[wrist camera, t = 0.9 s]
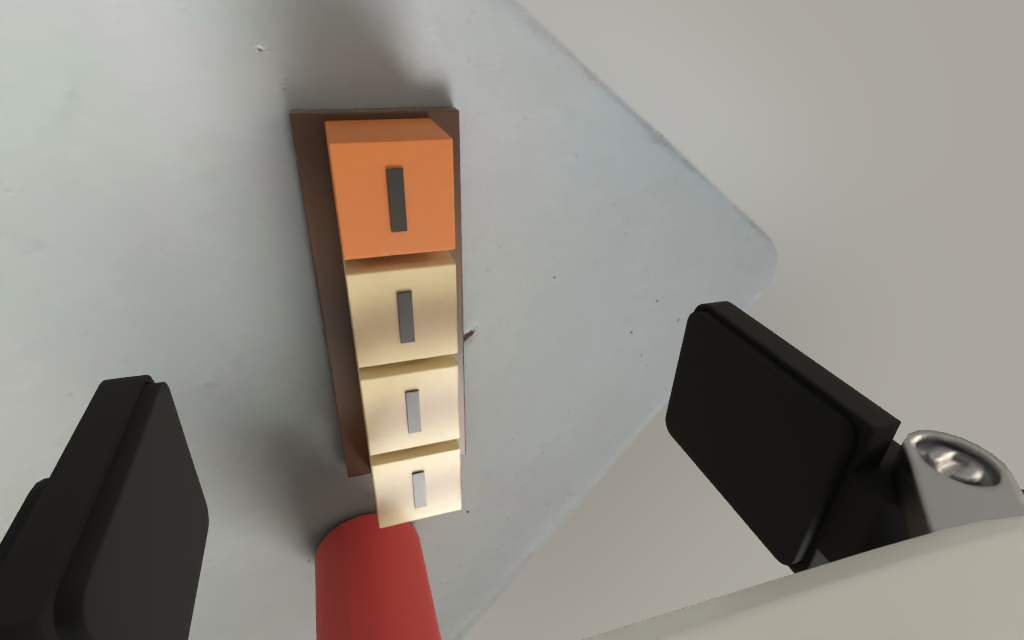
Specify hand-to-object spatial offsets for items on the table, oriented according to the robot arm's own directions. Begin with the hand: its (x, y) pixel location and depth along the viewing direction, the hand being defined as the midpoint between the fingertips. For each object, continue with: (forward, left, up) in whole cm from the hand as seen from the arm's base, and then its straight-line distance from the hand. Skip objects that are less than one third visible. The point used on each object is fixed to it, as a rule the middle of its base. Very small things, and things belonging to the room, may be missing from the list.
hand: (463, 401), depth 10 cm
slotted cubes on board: (+8, 0, -18) cm, 20 cm away
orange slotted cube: (0, 0, -17) cm, 17 cm away
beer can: (+25, -3, -18) cm, 31 cm away
